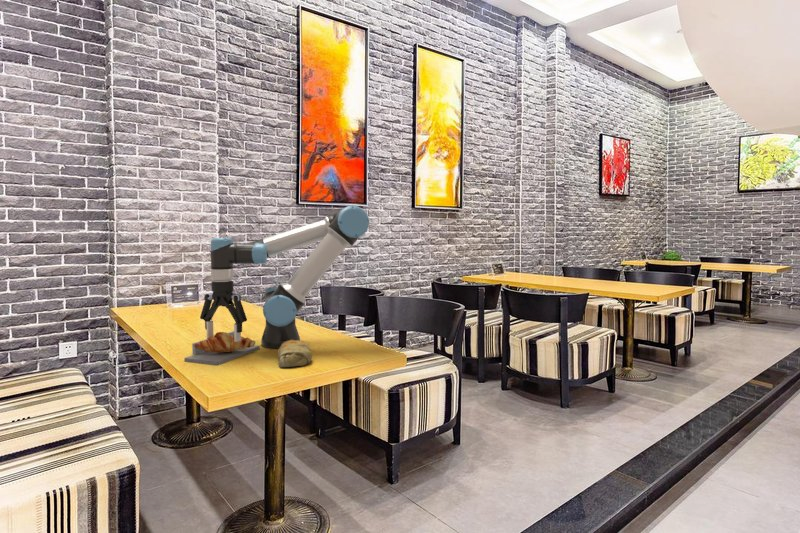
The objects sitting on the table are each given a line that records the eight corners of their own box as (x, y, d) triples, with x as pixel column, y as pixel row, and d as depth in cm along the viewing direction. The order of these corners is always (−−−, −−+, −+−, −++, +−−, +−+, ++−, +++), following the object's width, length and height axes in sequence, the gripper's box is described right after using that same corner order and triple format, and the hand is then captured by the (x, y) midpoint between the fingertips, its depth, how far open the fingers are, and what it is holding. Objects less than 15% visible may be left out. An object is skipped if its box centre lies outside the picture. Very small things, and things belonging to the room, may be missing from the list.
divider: (236, 340, 204) (236, 330, 204) (195, 354, 181) (194, 343, 181) (234, 340, 204) (234, 330, 204) (192, 354, 182) (192, 343, 182)
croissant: (254, 354, 188) (253, 333, 191) (257, 348, 180) (256, 326, 182) (193, 358, 179) (193, 336, 182) (195, 352, 171) (194, 329, 174)
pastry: (297, 356, 180) (296, 334, 180) (321, 362, 173) (321, 339, 172) (265, 364, 169) (265, 341, 168) (290, 371, 162) (290, 347, 161)
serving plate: (259, 349, 190) (259, 345, 190) (217, 365, 167) (217, 361, 167) (229, 346, 194) (229, 343, 194) (184, 361, 172) (184, 358, 172)
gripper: (256, 280, 178) (257, 340, 180) (202, 278, 186) (204, 335, 188) (243, 282, 171) (244, 344, 173) (188, 280, 179) (190, 339, 181)
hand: (223, 339), depth 180 cm, fingers closed on croissant, 11 cm apart
